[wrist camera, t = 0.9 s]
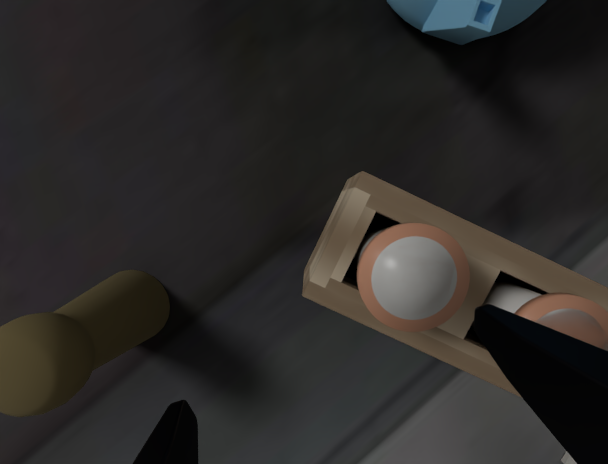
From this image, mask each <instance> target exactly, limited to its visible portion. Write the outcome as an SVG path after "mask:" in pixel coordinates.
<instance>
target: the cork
mask: <svg viewBox="0 0 608 464" xmlns="http://www.w3.org/2000/svg"><path fill="white" fill-rule="evenodd" d="M169 311H170V303H169V298H168V294H167V293H166V291H165V289H164V287H163V285H162V284H161V283H160V282H159V281H158V280H157V279H156V278H155V277H153V276H151V275H149V274H147V273H145V272H143V271H137V270H126V271H120V272H118V273H116V274H114V275H112V276H111V277H109V278H107V279H106V280H104V281H103V282H101V283H99V284H98V285H96V286H95V287H93V288H91V289H90V290H88V291H87V292H85V293H83V294H82V295H80V296H79V297H77V298H75V299H74V300H72V301H71V302H69V303H67V304H66V305H64V306H63V307H61V308H59V309H58V310H56V311H55V312H44V313H37V314H30V315H25V316H22V317H19V318H17V319H14V320H12V321H10V322H9V323H7V324H5V325H3V326H1V327H0V412H2V413H4V414H6V415H11V416H17V417H24V416H32V415H40V414H44V413H46V412H48V411H50V410H52V409H55V408H57V407H59V406H61V405H63V404H65V403H66V402H67V401H69V400H70V399H71V398H72V397H73V396H74V395H75V394H76V393H77V392H78V391H79V390H80V389H81V388H82V387H83V386H84V385H85V383H86V382H87V380H88V379H89V377H90V375H91V373H92V371H93V370H95V369H96V368H98V367H100V366H102V365H103V364H105V363H107V362H109V361H110V360H112V359H114V358H116V357H118V356H119V355H121V354H123V353H125V352H126V351H128V350H130V349H132V348H133V347H135V346H137V345H139V344H141V343H142V342H144V341H146V340H148V339H149V338H151V337H153V336H155V335H156V334H157V333H158V332H159V331H160V330H161V329H162V328H163V327H164V326H165V324H166V322H167V320H168V318H169Z"/></svg>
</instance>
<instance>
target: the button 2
mask: <svg viewBox="0 0 608 464" xmlns="http://www.w3.org/2000/svg"><path fill="white" fill-rule="evenodd" d="M356 266H357V285H358V290H359V293H360V295H361V298H362V300H363V302H364V304H365V305H366V307H367V309H368V310H369V311H370V312H371V314H372V315H373V316H374V317H375V318H376V319H377V320H379V321H380V322H381V323H383V324H385V325H386V326H388V327H391V328H393V329H396V330H400V331H405V332H420V331H426V330H429V329H432V328H435V327H437V326H439V325H441V324H443V323H444V322H446V321H447V320H449V319H450V318H451V317H452V316H453V315H454V314H455V313H456V312H457V311H458V309H459V308H460V307H461V305H462V303H463V302H464V300H465V297H466V295H467V292H468V289H469V283H470V270H469V264H468V260H467V258H466V255H465V253H464V251H463V249H462V248H461V246H460V245H459V244H458V242H457V241H456V240H455V239H454V238H453V237H452V236H450V235H449V234H448V233H446V232H445V231H443V230H441V229H439V228H437V227H434V226H431V225H427V224H422V223H402V224H397V225H394V226H391V227H389V228H381V229H377V230H375V231H373V232H371V233H370V234H368V235H367V236H366V237H365V238H364V239H363V240H362V242H361V243H360V245H359V247H358V249H357V253H356Z"/></svg>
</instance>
